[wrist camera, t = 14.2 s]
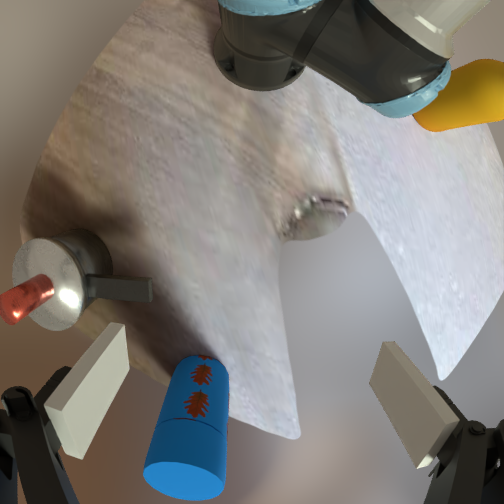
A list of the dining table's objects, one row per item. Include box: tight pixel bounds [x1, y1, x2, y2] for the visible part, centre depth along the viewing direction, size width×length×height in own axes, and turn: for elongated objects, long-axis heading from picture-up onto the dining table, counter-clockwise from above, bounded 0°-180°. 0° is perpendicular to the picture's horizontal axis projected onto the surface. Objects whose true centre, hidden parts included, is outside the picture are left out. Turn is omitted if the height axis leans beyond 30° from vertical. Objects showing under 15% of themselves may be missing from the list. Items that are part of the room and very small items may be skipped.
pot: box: [47, 229, 153, 314], centre depth 42 cm, size 14×23×11 cm, turn 87°
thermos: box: [143, 355, 229, 500], centre depth 40 cm, size 11×11×25 cm
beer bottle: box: [413, 59, 504, 132], centre depth 28 cm, size 9×9×29 cm
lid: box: [0, 237, 86, 331], centre depth 31 cm, size 14×14×10 cm
